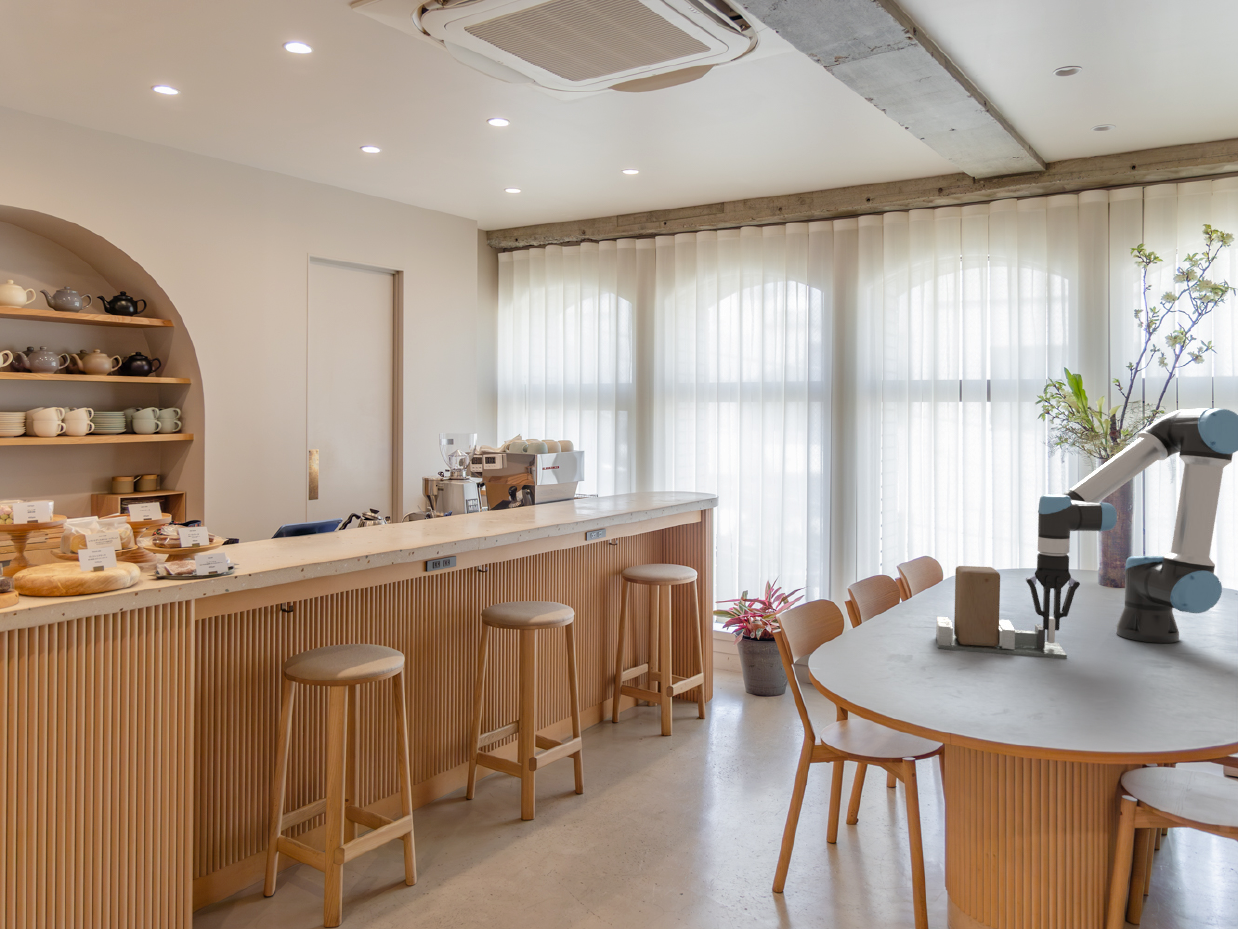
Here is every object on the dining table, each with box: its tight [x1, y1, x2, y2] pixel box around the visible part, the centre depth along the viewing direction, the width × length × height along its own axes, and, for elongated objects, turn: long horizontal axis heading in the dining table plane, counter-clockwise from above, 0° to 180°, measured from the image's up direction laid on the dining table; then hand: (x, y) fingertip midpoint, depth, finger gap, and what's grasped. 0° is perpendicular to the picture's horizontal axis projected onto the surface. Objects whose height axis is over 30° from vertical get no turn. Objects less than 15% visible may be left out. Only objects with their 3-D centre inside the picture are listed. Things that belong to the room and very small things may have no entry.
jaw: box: [998, 619, 1046, 649], centre depth 232 cm, size 11×12×5 cm
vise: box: [935, 616, 1068, 660], centre depth 234 cm, size 31×13×6 cm, turn 72°
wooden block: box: [953, 565, 1001, 647], centre depth 235 cm, size 10×10×20 cm
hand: (1050, 642), depth 230 cm, fingers closed
